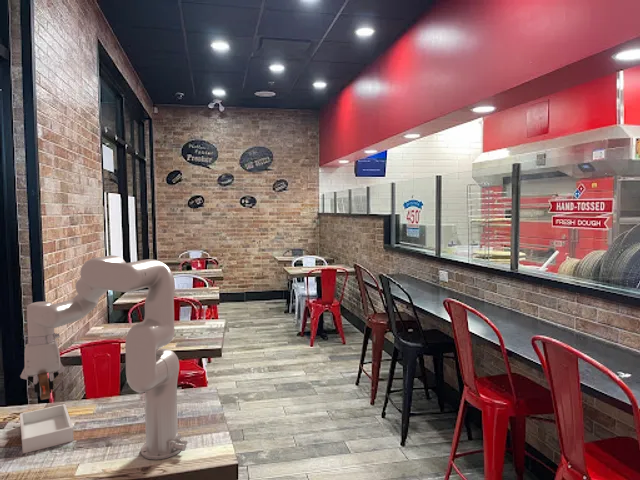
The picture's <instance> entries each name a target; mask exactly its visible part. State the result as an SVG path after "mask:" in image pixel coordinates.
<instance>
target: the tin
mask: <svg viewBox="0 0 640 480" xmlns="http://www.w3.org/2000/svg"><path fill="white" fill-rule="evenodd" d="M48 378H49V374H48V373H47V372H46V373H42V374H38V382H39V386H40V395H39V399H40V401H43V400H48V399H50V398H51V393H50V391H49V382H48Z"/></svg>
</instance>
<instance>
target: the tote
mask: <svg viewBox="0 0 640 480" xmlns="http://www.w3.org/2000/svg"><path fill="white" fill-rule="evenodd" d="M19 424H20V437H21V447H22V448H21V449H22V454H27V453H30V452H31V453H32V452H34V451H38V450H43V449H47V448H50V447H54V446H59V445H62V444H66V443H70V442H74V441H75V440H74V426H73V423H72V420H71V418H70V414H69V410H68V408H67V405H66V404H65V403H63V404H58V405H53V406H49V407H45V408H40V409H35V410H31V411H25V412H21V413H19Z"/></svg>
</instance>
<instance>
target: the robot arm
mask: <svg viewBox="0 0 640 480" xmlns="http://www.w3.org/2000/svg"><path fill="white" fill-rule="evenodd" d="M146 288H147V289H148V291H147V293H146V297H145V301H144V317H143V318H144V320H142V321H141V322H138V323H136V324H134V325H133V326H132V327H131V328H130V329H129V330H128V332H127V334H126V337H125V345H124V346H125V350H124V351H125V375H126V380H127V384H128V386H129V387H130V388H131V390H132V391H134V392H137V393H138V394H139V393H140V394H141V393H143V394H144V415H145V418H144V419H145V421H144V422H145V443H144V444H142V446H141V448H140V454H141V456H142V457H143V458H145V459H148V460H156V461H158V460H163V459H164V460H165V459H168V458H171V457H174V456H176V455H178V454H179V453H181V451H182V452H185V450H186V449H187V444H188V441H187V440H186V439H185V440H184V439H182V435H181V433H179V427H178V426H179V424H178V423H179V422H178V418H179V417H178V379H179V372H180V362H179V361H180V360H179V357H178V355H177V354H176V353H175V352H174V351H173V350H171V349H169V348H163V347H165V346H167V345H169V344H170V343H171V342H172V341H173V340H174V337H175V302H174V301H175V277H174V275H173V272H172V271H171V269H170V267H169V266H168V265H167V264H165V263H164V262H162V261H161V260H158V259H152V258H151V259H149V258H147V259H141V260H137V261H132V262H131V261H130V262H126V261H125V259H123V258H122V257H120V256H118V255H106V256H101V257H94V258H93V257H92V258H90V259H88V260H86V261H85V262H84V263H83V265H81V268H80V278H79V279H78V280H77V281H76V282H75V291H76V293H77V294H76V295H75V296H74V297H73V298H71V299H68V300H65V301H64V300H63V301H61V302H57V303H54V304H53V303H52V302H50V301H36V302H32V303H29V304H28V305H27V307H26V319H27V338H28V339H27V341H28V342H27V343H26V344H25V347H24V349H25V350H24V367H23V369H22V372H21V374H20V375H19V377H20V379H21V380H22V379H23V380H27V381H29V382H31V383H32V384H33V387H34V390H33V392H34V393H35V394H36V395H37V397H38V396H39V397H40V386H39V382H38V374H42V373H46V372H47V374H48V382H49V391H50V394H52V390H54V380H55V379H56V378H57V377H58V375H60V374H62V373H63V372H65V371H66V368H65V367H64V365H63V364H62V362H61V356H60V355H61V353H60V349H59V343H58V340H57V339H58V338H60V333H56V332H55V329H56V328H60V327H62V326H66V325H68V324H69V325H70V324H71V323H74V322H78V321H79V320H81V319H83V318H85V317H86V316H88V314H89V313H90V312H92V311H93V310H94V309H95V308H96V307H97V305H98V303H99V301H100V299H101V297H102V296H103V295H104V294H106V293H107V292H109V291H112V292H120V293H130V292H135V291H138V290H142V289H146Z"/></svg>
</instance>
